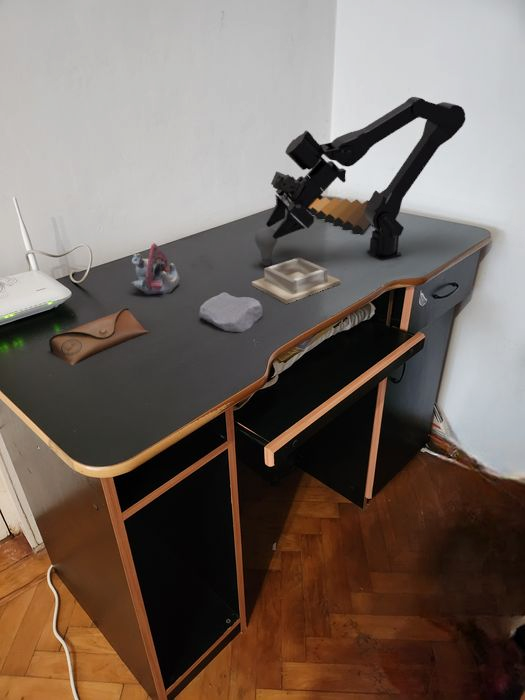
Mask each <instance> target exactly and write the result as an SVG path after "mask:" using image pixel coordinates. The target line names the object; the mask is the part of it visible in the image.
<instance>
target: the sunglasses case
mask: <svg viewBox="0 0 525 700" xmlns="http://www.w3.org/2000/svg"><path fill="white" fill-rule="evenodd" d="M149 332H150V331H149V330H147V329H146V328H145V327H144V326H143V325H142V324H141V323H140V322H139V321H138V319H137V318H136V317H135V316H134V315H133V314H132V312H130V309H129V307H125V308H123V309H121V310H119V311H117V312H115V313H111V314H109V315H106V316H104V317H100V318H98V319H95V320H93V321H89V322H87V323H85V324H83V325H79V326H77V327H75V328H72V329H70V330H68V331H65V332H59V333H58V334H55V335H53V336H52V337H50V338H49V340H48V344H49V349H50V351H51V353H52V354H54V355H56V356H57V357H58V358H60V359H62V360H63V361H65V362H67V363H68V364H71V366H74V365H76V364H79V363H80V362H82V361H84V360H86V359H87V358H90V357H93V356H94V355H97V354H100V353H102V352H103V351H106V350H108V349H110V348H112V347H115V346H117V345H120V344H123V343H126V342H128V341H129V340H132V339H135V338H137V337H140V336H144V335H146V334H147V333H149Z"/></svg>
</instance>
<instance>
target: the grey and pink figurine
mask: <svg viewBox="0 0 525 700" xmlns="http://www.w3.org/2000/svg"><path fill="white" fill-rule="evenodd" d="M148 254H149V255H148V258H142V255H141V254H140V253H137V254H135V253H132V259H131V263H132V264H133V265H135V269H134V270H135V275H136V277H137V278H138V280H134V281H130V285H132V286H134V287H136V288H137V289H138V290H141V291H142V292H143V293H144V294H146V295H155V294H160V295H161V294H164V295H166V294H171V293H172V291H173V290H174V289H175V288H176V287H177V286H178V284H179V282H180V279H181V278H180V275H179V273H178V270H177V268H176V265H175V264H174V263H172V262H171V263H169V267H168V257H167V256H166V254H165V253H164V252H163V251H162V249H161V248H160V247H159V246H158V245H157V244H156V243H152V244H151V246H150V251H149V253H148ZM158 260H161V262H160V261H158Z"/></svg>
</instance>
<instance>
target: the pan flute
mask: <svg viewBox="0 0 525 700" xmlns="http://www.w3.org/2000/svg"><path fill="white" fill-rule="evenodd" d="M368 201H369V200H365V201H363V202H361V201H360V200H358V199H357V198H356V199H355V200H354V201H350V200H349V199H347V198H345V199H343V200H341V201H340V200H339V199H338V198H337V197H334V198H333V199H332V200H330V199H329V198H327V196H324V197H322V198H321V199H320V200H319V199H318V198H317V199H316V201H315V202H314V203H313V204H312V205H311V206H310V207H309V209H310V211H309V212H310V213H311V214H312V215H315V216H314V217H316V219H317V220H321V219H325V220H324V221H325V222H324V223H326V222H329V223H328V224H333V226H334V227H337V226H340V227H339V228H342V230H343V231H348V230H352V231H351V232H352V234H353V235H358V234H360V235H361V236H362V235H363V234H364V232H365V231H366V230H367V229H368V228H369V226H370V225H371V223H370V222H369V221H368V220H367V219H366V217H365V209H366V207H367V205H366V203H367V202H368Z"/></svg>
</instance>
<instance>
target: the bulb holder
mask: <svg viewBox="0 0 525 700" xmlns="http://www.w3.org/2000/svg"><path fill="white" fill-rule="evenodd" d="M263 270H264V277H262V278H258V279H257V280H254V281H253V280H252V281H251V285H252V287H254V288H256V289H258V290H259V291H261V292H263V293H265V294H266V295H268V296H270V297H272V298H273V299H276V300H277V299H278V301H279V300H280V301H279V302H281V303H283V304H285V305H289V304H291V303H293V302H297V301H299V300H302V299H304V298H307V297H310V296H312V294H313V295H315V293H316V294H318V293H321V292H323V291H322V290H324V291H325V289H326V290H328V289H327V288H329V289H331V288H330V287H332V288H334V287H336V286H335V285H337V286H339V285H338V284H340V285H341V279H338V278H336V277H333V276H331V275H329V274H328V272H329V270H328V269H327V268H325V267H322V266H321V265H318V264H316V263H313V262H310V261H308V260H306V259H304V258H301V257H295V258H293V259H290V260H286V261H283V262H279V263H277V264H273V265H269V266H266V267H265V268H263ZM333 286H334V287H333ZM320 291H321V292H320ZM317 292H318V293H317ZM309 295H310V296H309ZM296 300H297V301H296ZM288 303H289V304H288Z"/></svg>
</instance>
